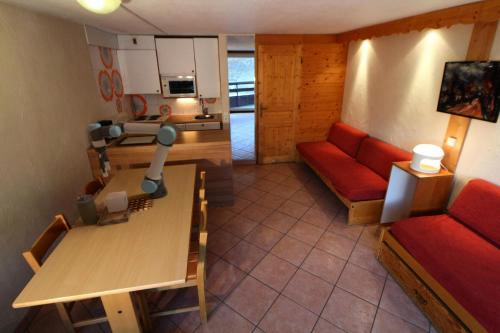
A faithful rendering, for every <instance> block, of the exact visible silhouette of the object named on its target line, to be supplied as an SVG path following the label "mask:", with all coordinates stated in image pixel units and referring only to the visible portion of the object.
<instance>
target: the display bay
mask: <svg viewBox="0 0 500 333" xmlns="http://www.w3.org/2000/svg"><path fill="white" fill-rule="evenodd" d="M105 215H106V213H105V211H102V212H100V216H99V220H98V222H96V223H97V226H98V227H103V226H109V225H115V224H116V225H117V224H121V223H128V222H130V221H129V220H130V216H131V207H127V212H126V216H124V217H118V218H112V219H106V220H104V218H105Z"/></svg>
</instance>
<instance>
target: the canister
mask: <svg viewBox="0 0 500 333" xmlns="http://www.w3.org/2000/svg"><path fill="white" fill-rule="evenodd" d="M95 202H96V201H95V197H94V196H93V194H84V193H83V194H82V195H81V196H79V197H78V198H76V199H75V204H76V207H77V210H78V212H79V217H80V219H81V224H82V225H83V226H90V225H94V224H95V223H97V222H98V220H99V218H100V216H99V212H97V209H96V205H95Z"/></svg>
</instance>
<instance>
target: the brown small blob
mask: <svg viewBox="0 0 500 333" xmlns="http://www.w3.org/2000/svg"><path fill="white" fill-rule="evenodd" d="M95 205H96V209H97V212H98V213H102V212H105V210H106V207H105V204H104V200H98V201H95Z"/></svg>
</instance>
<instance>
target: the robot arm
mask: <svg viewBox="0 0 500 333" xmlns="http://www.w3.org/2000/svg"><path fill="white" fill-rule="evenodd" d="M87 128H88V132H89V136H90V139H91V144H92V145H93V148H94V149H93V150H94V152H95V153H98V155H97V157H98V164H99V170H101V173H102V177H103V178H107V177H109V175H108V172H107V171H111V166H110V163H109V162H110V159H109V157H108V154H107V152H106V151H107V150H108V149H107V145H106V141H105V140H106V139H105V138H117V137H120V136H121V134H122V133H123V134H142V135H143V134H149V135H150V134H151V135H157V136H156V137H157V138H156V143H157V145H156V148H155V151H154V154H153V157H152V160H151V164H150V166H149V168H148V169H147V170H146V172H144V173H145V174H144V176H143V179H142V181H141V182H140V189H141V190H142V191H143V193H147V194H148V197H149V198H151V199H161V198H164V197H166V196H167V195H168V193H169V192H168V191H169V190H168V189H167V187H166V185H165V180H164V171H163V168H164V164H165V162H166V159H167V156H168V153H169V151H170V148H172V147H173V146H174V144H175V141H176V138H177V137H178V136H179V133H180V129H179V127H178V126H177V125H176V124H175V123H173V122H160V123H145V122H144V123H143V122H141V123H139V122H137V123H136V122H123V121H115V123H113V124H111V125H107V126H105V125H104V126H102V125H101V123H91V124H90V123H89V124H88V126H87Z"/></svg>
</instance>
